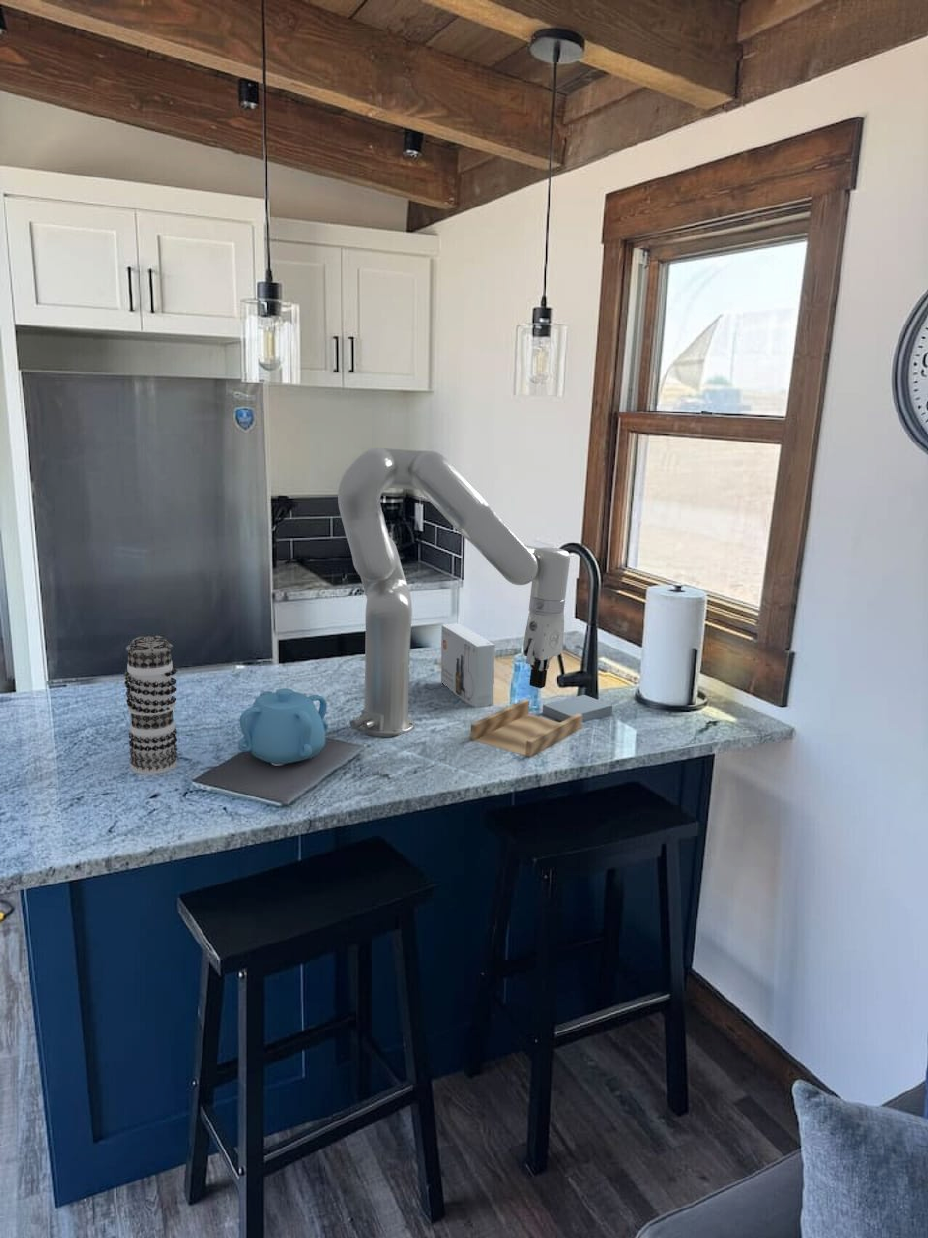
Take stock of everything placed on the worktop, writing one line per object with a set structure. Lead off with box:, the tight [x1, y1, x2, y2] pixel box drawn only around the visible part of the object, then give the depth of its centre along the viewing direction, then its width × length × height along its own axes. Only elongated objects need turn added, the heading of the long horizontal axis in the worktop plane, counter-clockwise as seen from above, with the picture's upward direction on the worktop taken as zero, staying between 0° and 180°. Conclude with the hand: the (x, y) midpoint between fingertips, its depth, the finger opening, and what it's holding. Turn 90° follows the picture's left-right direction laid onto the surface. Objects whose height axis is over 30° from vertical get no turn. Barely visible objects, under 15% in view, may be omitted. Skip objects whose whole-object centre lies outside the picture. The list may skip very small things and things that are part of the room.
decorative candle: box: [123, 635, 179, 776], centre depth 157 cm, size 9×9×25 cm
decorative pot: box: [237, 687, 329, 765], centre depth 167 cm, size 16×16×14 cm
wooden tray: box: [469, 699, 583, 758], centre depth 184 cm, size 22×15×4 cm
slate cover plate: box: [542, 694, 613, 723], centre depth 199 cm, size 14×9×3 cm, turn 129°
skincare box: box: [440, 622, 496, 708], centre depth 208 cm, size 21×6×16 cm, turn 25°
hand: (537, 686), depth 186 cm, fingers closed
